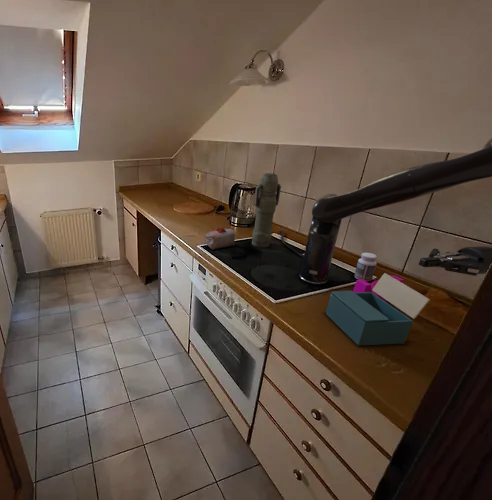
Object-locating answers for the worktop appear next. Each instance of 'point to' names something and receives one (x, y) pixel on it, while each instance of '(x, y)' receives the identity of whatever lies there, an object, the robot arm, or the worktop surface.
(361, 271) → the pill bottle
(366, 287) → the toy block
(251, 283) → the worktop surface
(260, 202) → the thermos
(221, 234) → the food item
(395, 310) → the box
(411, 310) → the lid
